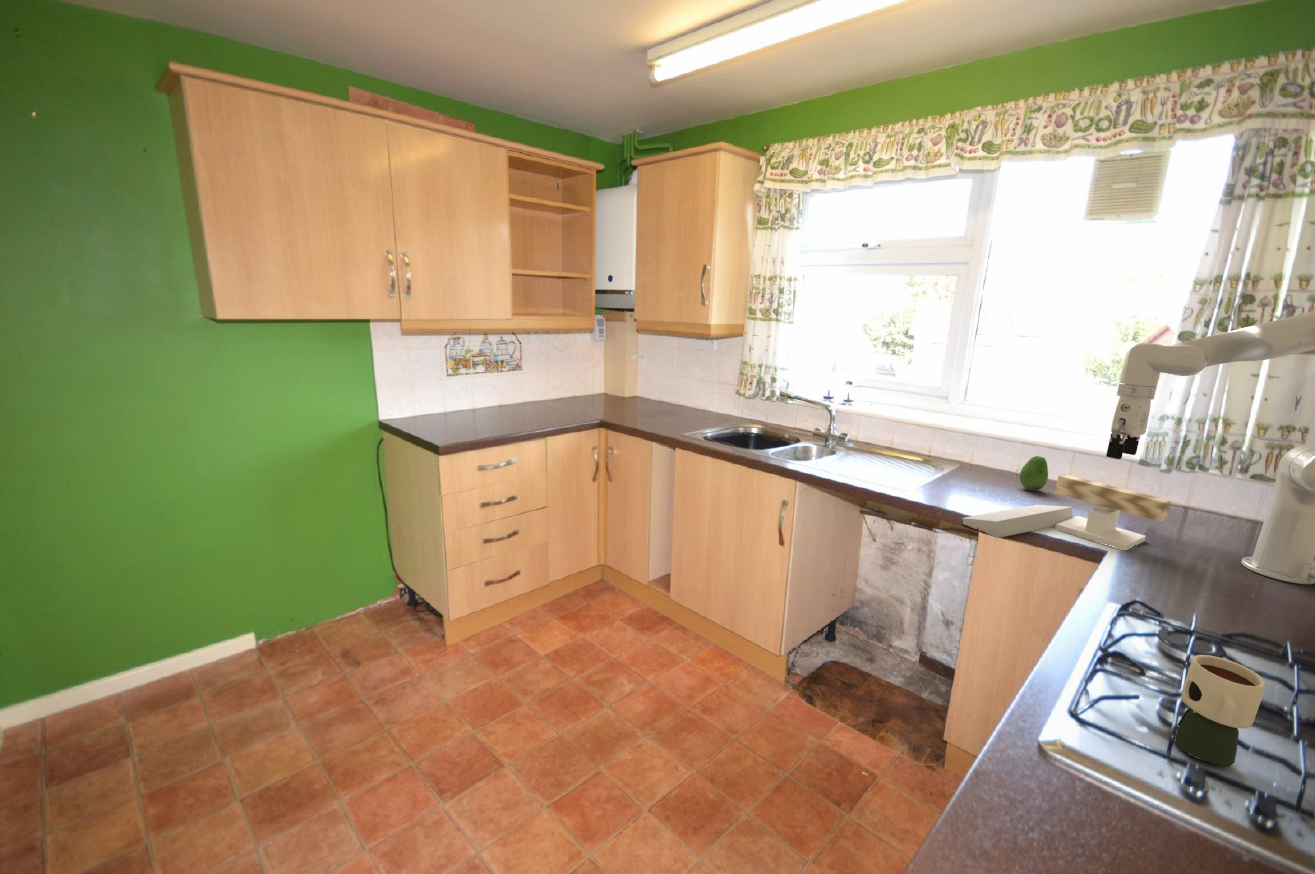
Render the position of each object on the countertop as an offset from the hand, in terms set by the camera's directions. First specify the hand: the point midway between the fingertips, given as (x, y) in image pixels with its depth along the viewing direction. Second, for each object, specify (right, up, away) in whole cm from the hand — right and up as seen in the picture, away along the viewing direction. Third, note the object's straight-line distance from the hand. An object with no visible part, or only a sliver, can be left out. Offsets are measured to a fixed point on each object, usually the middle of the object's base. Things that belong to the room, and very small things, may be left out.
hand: (1120, 455), depth 152 cm
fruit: (+4, -13, +43) cm, 45 cm away
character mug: (-48, -39, -73) cm, 95 cm away
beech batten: (-1, -13, +3) cm, 14 cm away
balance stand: (-2, -22, +6) cm, 23 cm away
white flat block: (-20, -20, +12) cm, 31 cm away
